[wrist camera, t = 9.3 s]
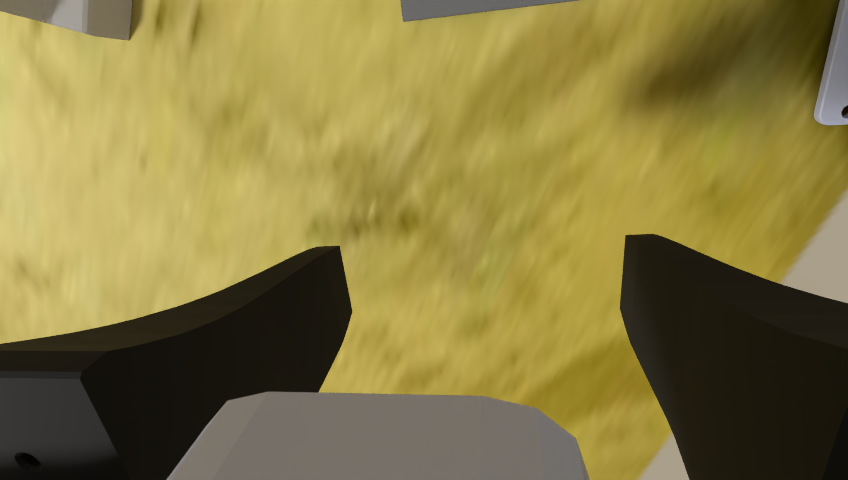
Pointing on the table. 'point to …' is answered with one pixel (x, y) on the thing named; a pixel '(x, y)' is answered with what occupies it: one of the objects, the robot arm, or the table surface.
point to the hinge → (77, 15)
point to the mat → (461, 7)
